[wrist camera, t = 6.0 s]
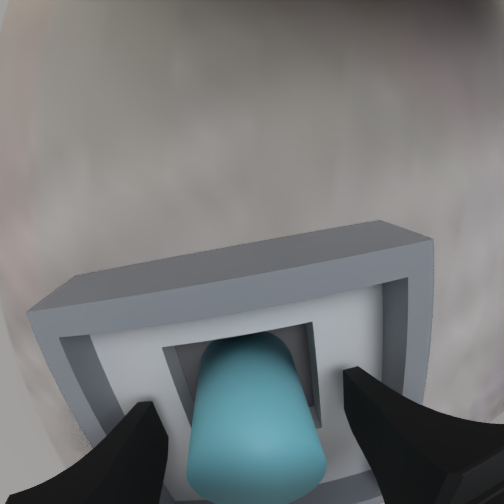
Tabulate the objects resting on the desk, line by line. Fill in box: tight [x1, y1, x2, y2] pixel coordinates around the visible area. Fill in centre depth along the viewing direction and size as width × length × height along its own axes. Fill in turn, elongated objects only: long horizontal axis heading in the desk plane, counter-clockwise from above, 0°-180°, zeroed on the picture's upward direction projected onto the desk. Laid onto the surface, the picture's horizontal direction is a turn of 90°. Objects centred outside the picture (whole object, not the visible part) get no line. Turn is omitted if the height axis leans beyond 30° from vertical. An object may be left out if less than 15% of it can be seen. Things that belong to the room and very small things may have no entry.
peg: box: [186, 331, 327, 504], centre depth 10 cm, size 4×4×6 cm
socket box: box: [26, 220, 434, 504], centre depth 12 cm, size 13×14×4 cm
